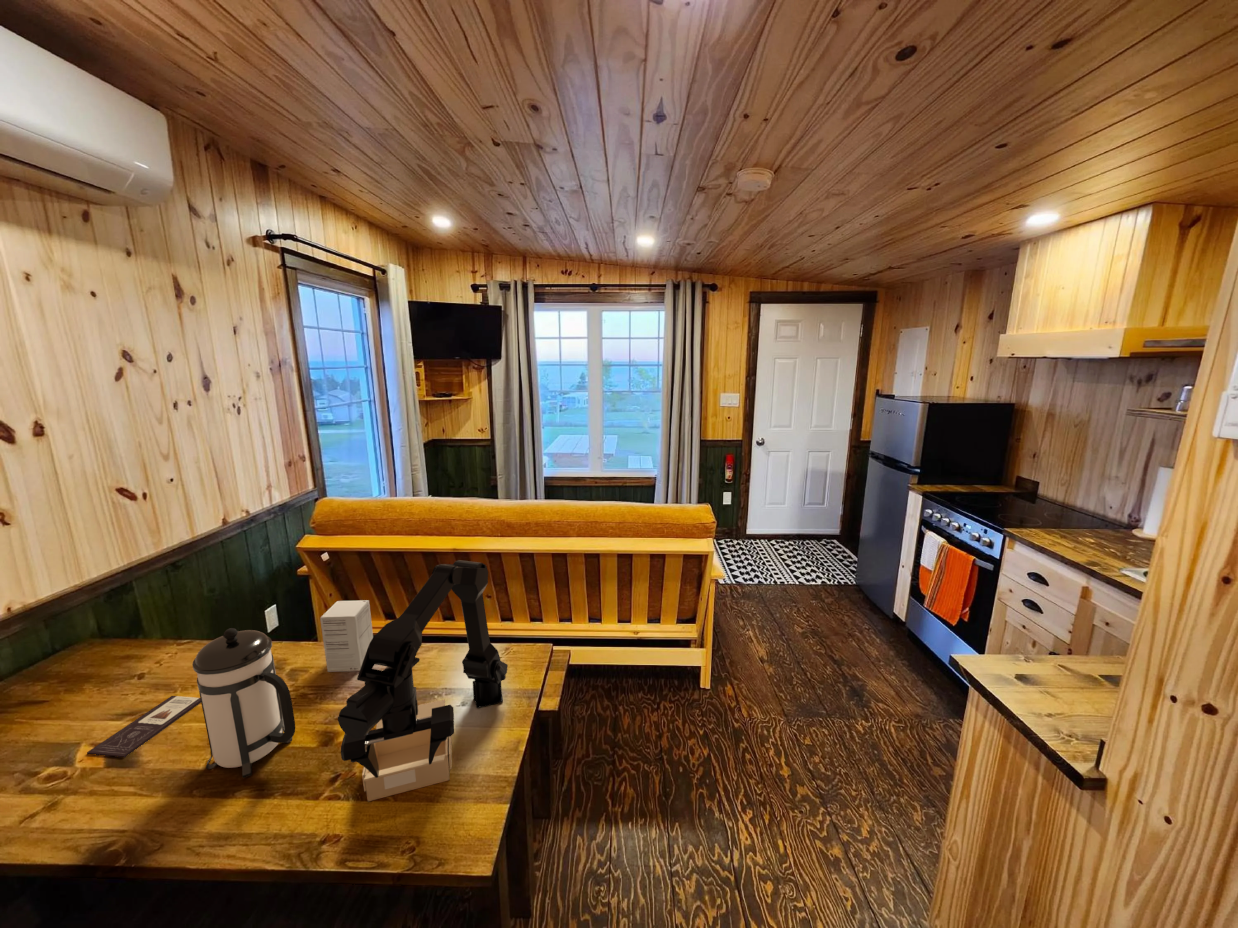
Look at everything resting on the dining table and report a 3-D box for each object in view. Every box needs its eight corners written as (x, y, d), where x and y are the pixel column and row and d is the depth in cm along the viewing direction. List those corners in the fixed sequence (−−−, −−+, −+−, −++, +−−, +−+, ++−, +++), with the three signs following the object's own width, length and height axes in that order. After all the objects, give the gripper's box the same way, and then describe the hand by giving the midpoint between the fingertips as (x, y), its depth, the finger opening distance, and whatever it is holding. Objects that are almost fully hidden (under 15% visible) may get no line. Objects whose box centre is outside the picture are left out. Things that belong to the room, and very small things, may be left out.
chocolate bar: (86, 752, 102) (171, 695, 119) (87, 755, 102) (172, 698, 119) (124, 755, 101) (204, 698, 118) (124, 759, 101) (204, 701, 119)
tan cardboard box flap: (445, 715, 105) (445, 715, 105) (445, 699, 108) (445, 699, 108) (376, 730, 101) (376, 730, 101) (377, 713, 103) (377, 714, 103)
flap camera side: (367, 773, 90) (367, 775, 90) (363, 779, 87) (363, 781, 87) (444, 754, 95) (444, 756, 95) (443, 759, 91) (443, 761, 91)
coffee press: (194, 798, 91) (165, 661, 85) (217, 741, 105) (194, 620, 99) (300, 765, 99) (281, 637, 93) (309, 716, 113) (292, 602, 107)
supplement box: (343, 652, 139) (336, 599, 135) (375, 650, 139) (370, 598, 136) (326, 672, 129) (318, 617, 126) (361, 671, 130) (354, 615, 127)
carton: (452, 738, 107) (450, 715, 106) (452, 779, 96) (450, 754, 95) (373, 756, 102) (370, 733, 100) (364, 802, 91) (361, 776, 90)
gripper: (451, 661, 96) (455, 726, 100) (348, 680, 90) (357, 749, 93) (451, 696, 86) (456, 768, 89) (335, 720, 80) (345, 796, 83)
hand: (404, 768), depth 89 cm, fingers open, 9 cm apart
